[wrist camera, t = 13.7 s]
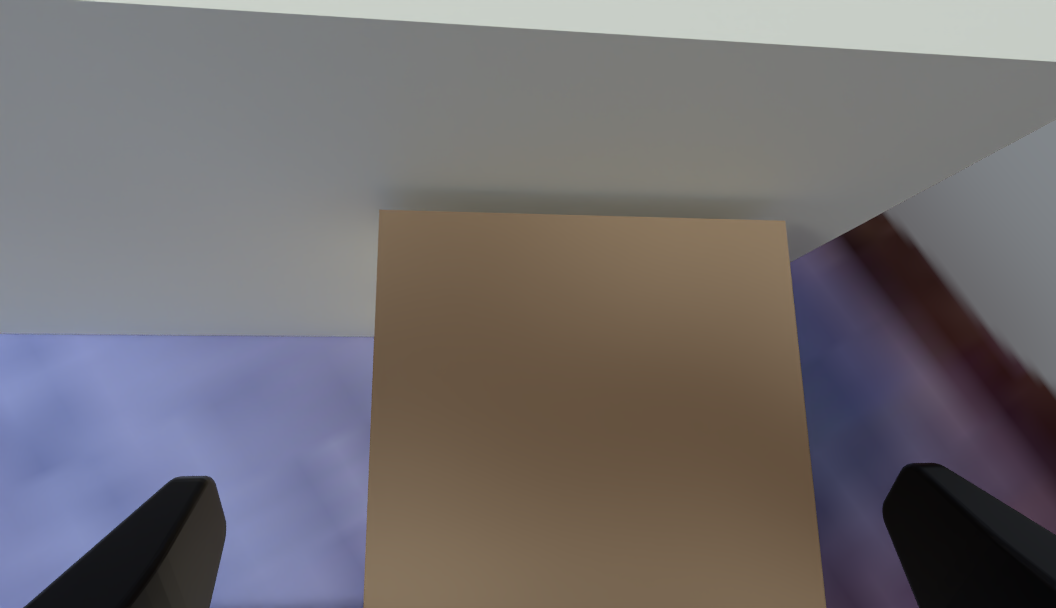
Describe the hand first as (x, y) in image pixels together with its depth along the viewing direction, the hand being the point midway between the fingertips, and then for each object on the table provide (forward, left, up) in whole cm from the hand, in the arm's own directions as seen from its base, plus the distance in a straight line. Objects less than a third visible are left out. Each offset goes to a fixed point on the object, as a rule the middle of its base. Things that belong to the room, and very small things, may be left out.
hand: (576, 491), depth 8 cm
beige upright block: (0, 0, -10) cm, 10 cm away
